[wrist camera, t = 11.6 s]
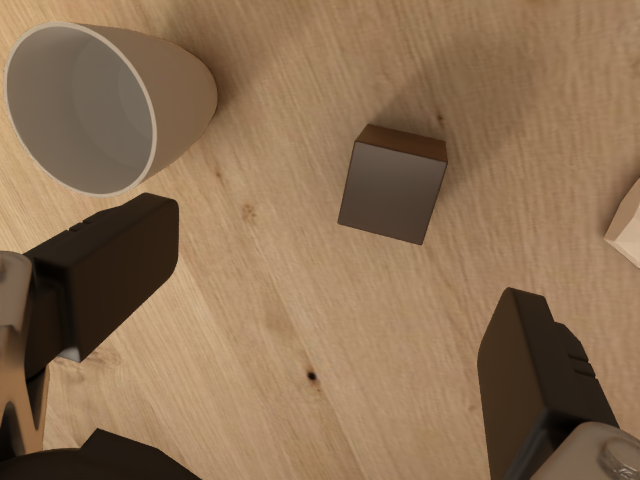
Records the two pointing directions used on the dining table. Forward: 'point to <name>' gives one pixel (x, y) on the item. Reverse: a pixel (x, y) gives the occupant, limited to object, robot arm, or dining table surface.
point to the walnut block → (393, 183)
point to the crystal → (627, 226)
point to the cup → (104, 104)
